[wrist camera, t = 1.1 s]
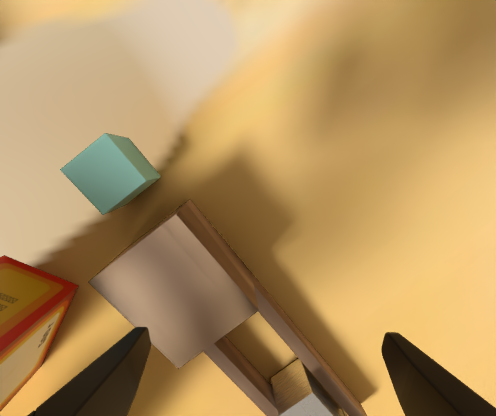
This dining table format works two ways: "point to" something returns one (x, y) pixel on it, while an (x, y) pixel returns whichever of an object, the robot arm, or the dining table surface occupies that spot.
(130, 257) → the housing
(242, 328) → the dining table surface
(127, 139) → the teal cube block
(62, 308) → the baking soda box
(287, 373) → the grey rectangular block
